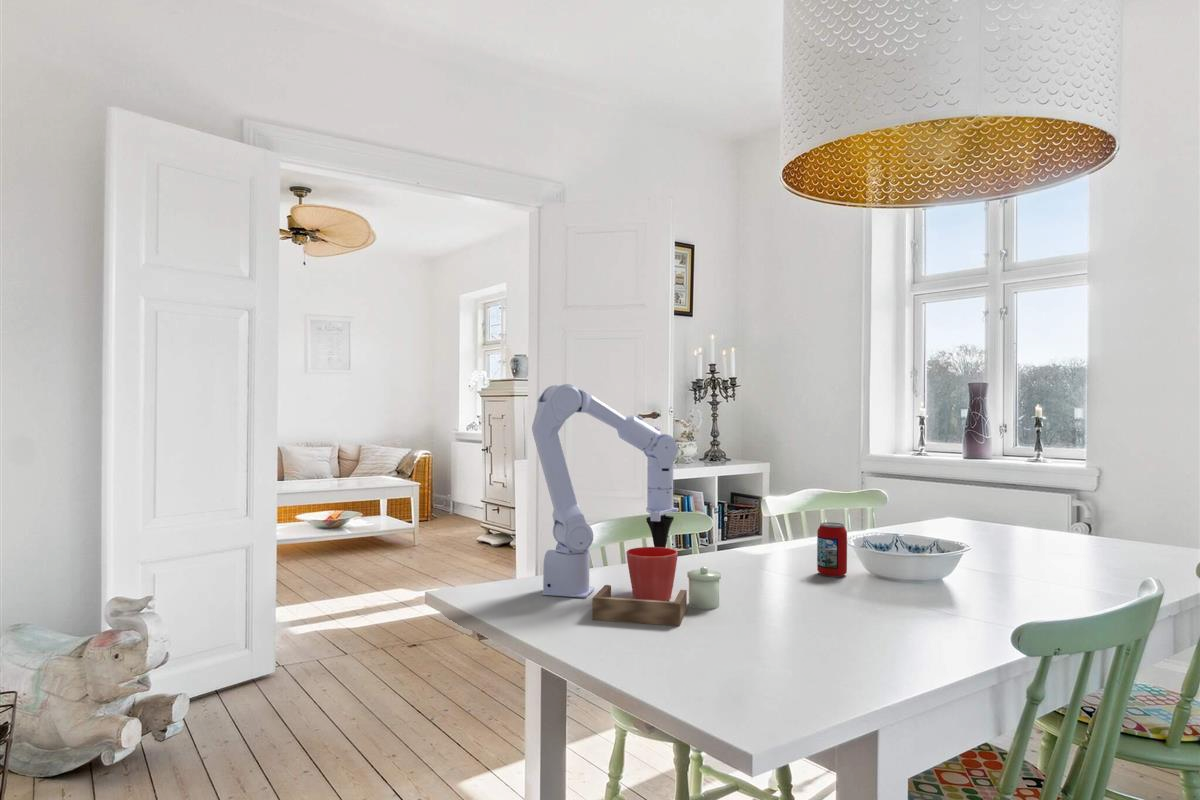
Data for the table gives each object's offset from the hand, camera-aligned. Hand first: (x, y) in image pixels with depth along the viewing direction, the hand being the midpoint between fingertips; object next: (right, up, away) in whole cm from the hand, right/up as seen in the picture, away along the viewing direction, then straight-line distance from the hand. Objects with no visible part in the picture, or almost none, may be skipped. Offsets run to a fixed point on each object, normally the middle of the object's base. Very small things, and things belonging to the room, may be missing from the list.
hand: (660, 549), depth 166 cm
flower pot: (-3, -8, -11) cm, 14 cm away
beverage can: (+42, -9, +13) cm, 45 cm away
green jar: (+7, -8, -16) cm, 20 cm away
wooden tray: (-5, -8, -23) cm, 25 cm away
